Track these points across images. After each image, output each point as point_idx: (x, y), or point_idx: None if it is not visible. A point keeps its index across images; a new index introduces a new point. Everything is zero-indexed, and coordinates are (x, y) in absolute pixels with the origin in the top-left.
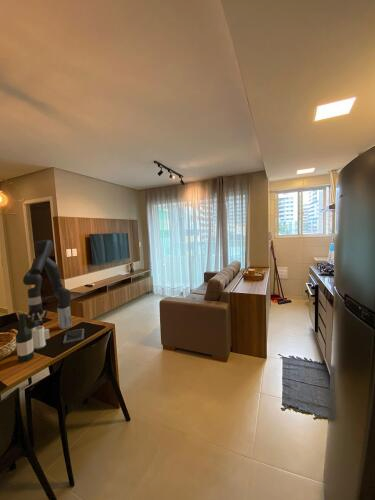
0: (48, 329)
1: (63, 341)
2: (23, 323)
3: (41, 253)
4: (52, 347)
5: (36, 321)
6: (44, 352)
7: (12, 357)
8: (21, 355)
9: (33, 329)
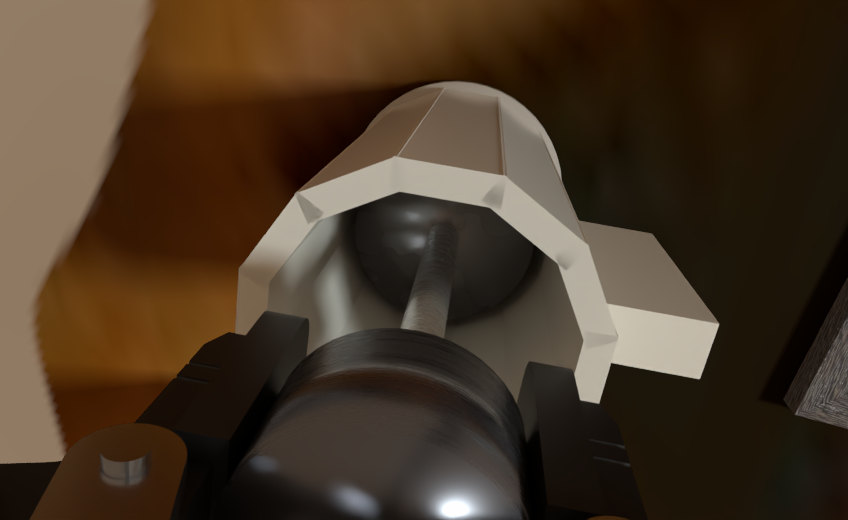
0: (700, 363)
1: (818, 376)
2: None
3: None
4: (618, 392)
5: None
6: None
7: (106, 291)
8: None
9: (299, 244)
